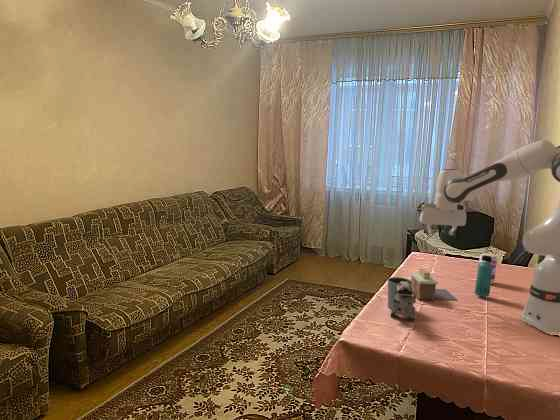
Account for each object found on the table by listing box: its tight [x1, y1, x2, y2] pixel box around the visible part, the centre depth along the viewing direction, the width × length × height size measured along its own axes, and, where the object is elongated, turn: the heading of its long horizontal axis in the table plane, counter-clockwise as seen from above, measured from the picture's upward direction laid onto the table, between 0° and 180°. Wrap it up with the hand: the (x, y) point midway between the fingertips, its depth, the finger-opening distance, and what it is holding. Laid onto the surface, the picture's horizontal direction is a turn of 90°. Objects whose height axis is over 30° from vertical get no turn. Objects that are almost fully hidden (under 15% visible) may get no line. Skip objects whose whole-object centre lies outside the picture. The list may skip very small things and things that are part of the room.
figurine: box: [390, 281, 417, 323], centre depth 174 cm, size 9×12×15 cm
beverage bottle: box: [474, 255, 493, 297], centre depth 206 cm, size 6×7×20 cm
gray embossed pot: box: [387, 276, 413, 310], centre depth 187 cm, size 10×10×12 cm
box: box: [410, 276, 437, 302], centre depth 204 cm, size 12×7×8 cm, turn 1°
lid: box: [410, 267, 439, 285], centre depth 203 cm, size 13×8×4 cm, turn 1°
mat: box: [434, 288, 458, 301], centre depth 208 cm, size 14×10×1 cm
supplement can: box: [478, 252, 498, 286], centre depth 229 cm, size 8×8×15 cm
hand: (440, 234), depth 201 cm, fingers open, 8 cm apart
